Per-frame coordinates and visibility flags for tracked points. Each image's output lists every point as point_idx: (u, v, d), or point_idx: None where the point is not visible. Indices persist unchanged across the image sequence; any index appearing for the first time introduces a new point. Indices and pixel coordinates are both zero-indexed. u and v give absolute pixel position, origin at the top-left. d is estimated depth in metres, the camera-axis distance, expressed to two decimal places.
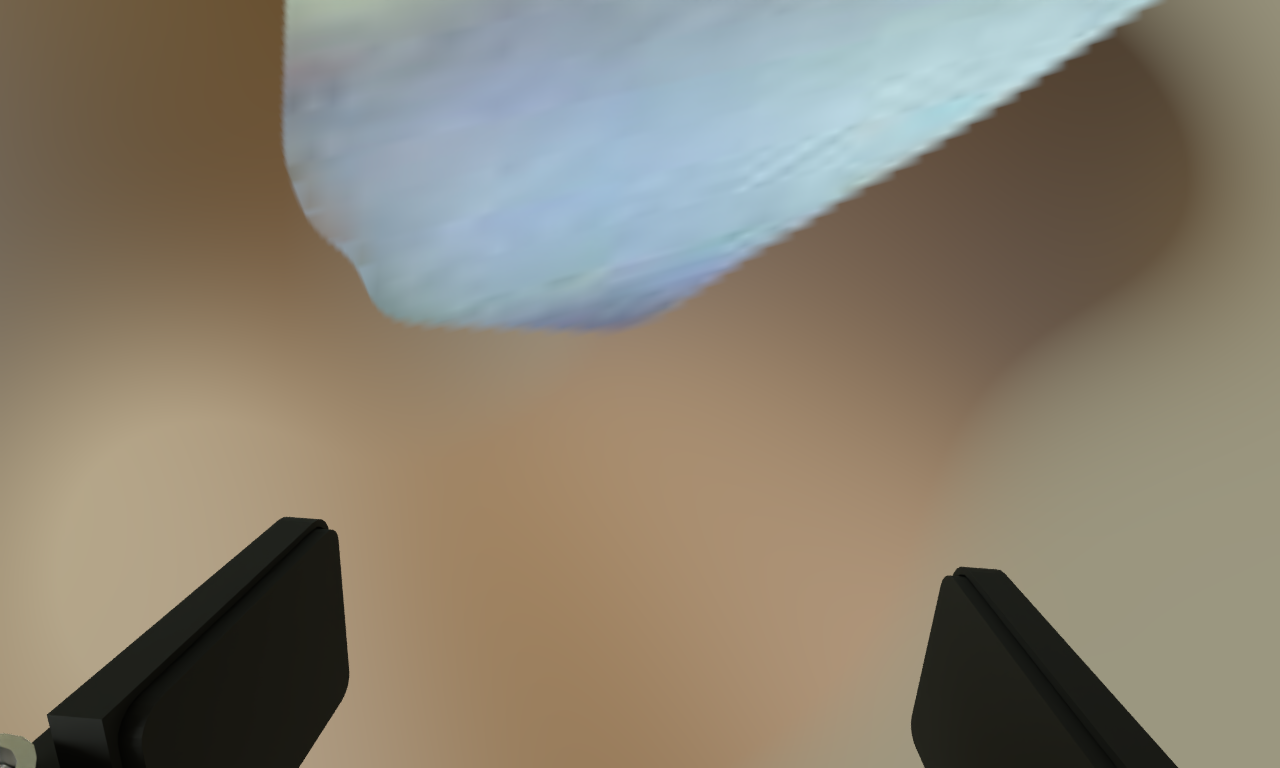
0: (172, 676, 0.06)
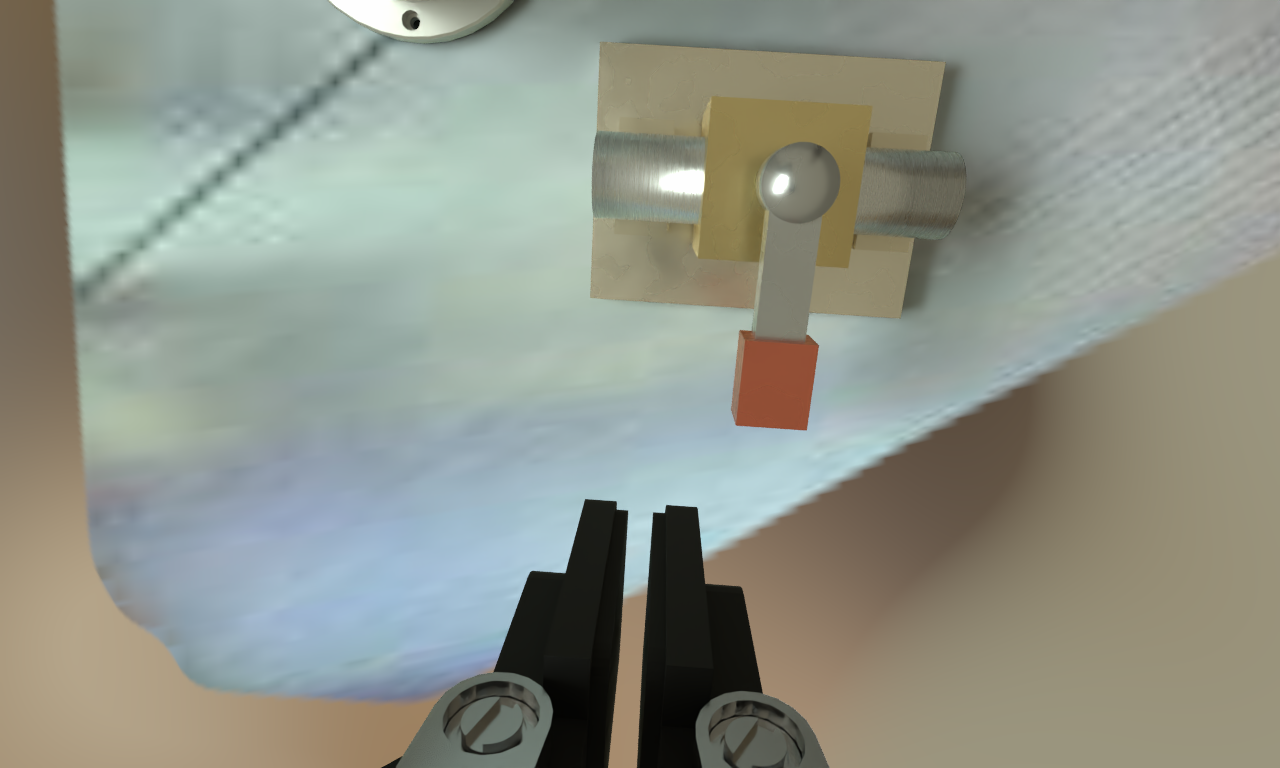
0: (603, 628, 0.08)
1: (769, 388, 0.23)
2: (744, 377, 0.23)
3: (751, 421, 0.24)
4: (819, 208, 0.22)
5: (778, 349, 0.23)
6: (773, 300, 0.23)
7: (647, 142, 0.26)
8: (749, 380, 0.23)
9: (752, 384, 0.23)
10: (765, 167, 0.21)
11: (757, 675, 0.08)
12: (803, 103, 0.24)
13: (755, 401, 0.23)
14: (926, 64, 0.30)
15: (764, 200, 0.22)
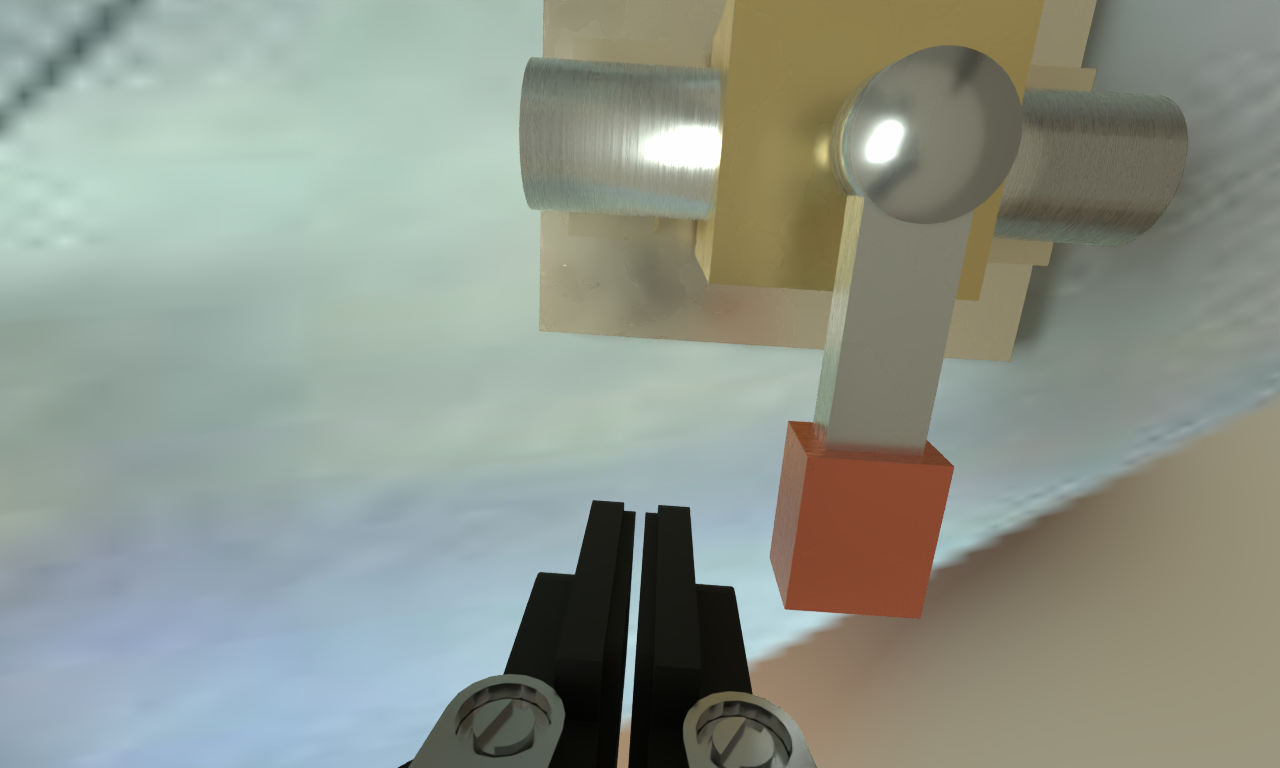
0: (614, 630, 0.08)
1: (852, 544, 0.12)
2: (804, 523, 0.12)
3: (814, 602, 0.12)
4: (972, 192, 0.10)
5: (873, 473, 0.12)
6: (864, 377, 0.11)
7: (619, 76, 0.15)
8: (813, 530, 0.12)
9: (819, 537, 0.12)
10: (861, 103, 0.10)
11: (747, 675, 0.08)
12: None
13: (823, 567, 0.12)
14: None
15: (856, 175, 0.10)
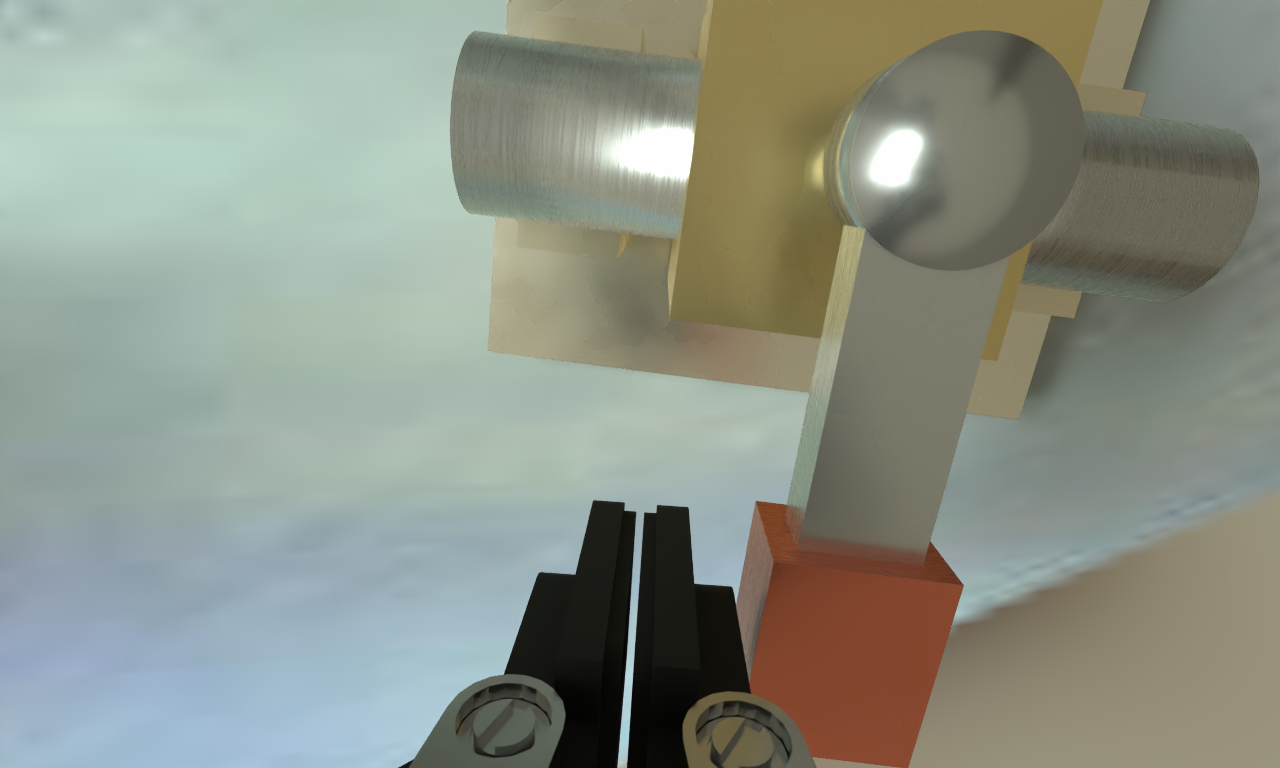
0: (614, 630, 0.08)
1: (826, 674, 0.09)
2: (765, 644, 0.09)
3: None
4: (1010, 231, 0.08)
5: (858, 587, 0.09)
6: (853, 462, 0.09)
7: (577, 59, 0.12)
8: (777, 653, 0.09)
9: (784, 662, 0.09)
10: (867, 103, 0.07)
11: (746, 675, 0.08)
12: None
13: (788, 699, 0.09)
14: None
15: (856, 199, 0.08)
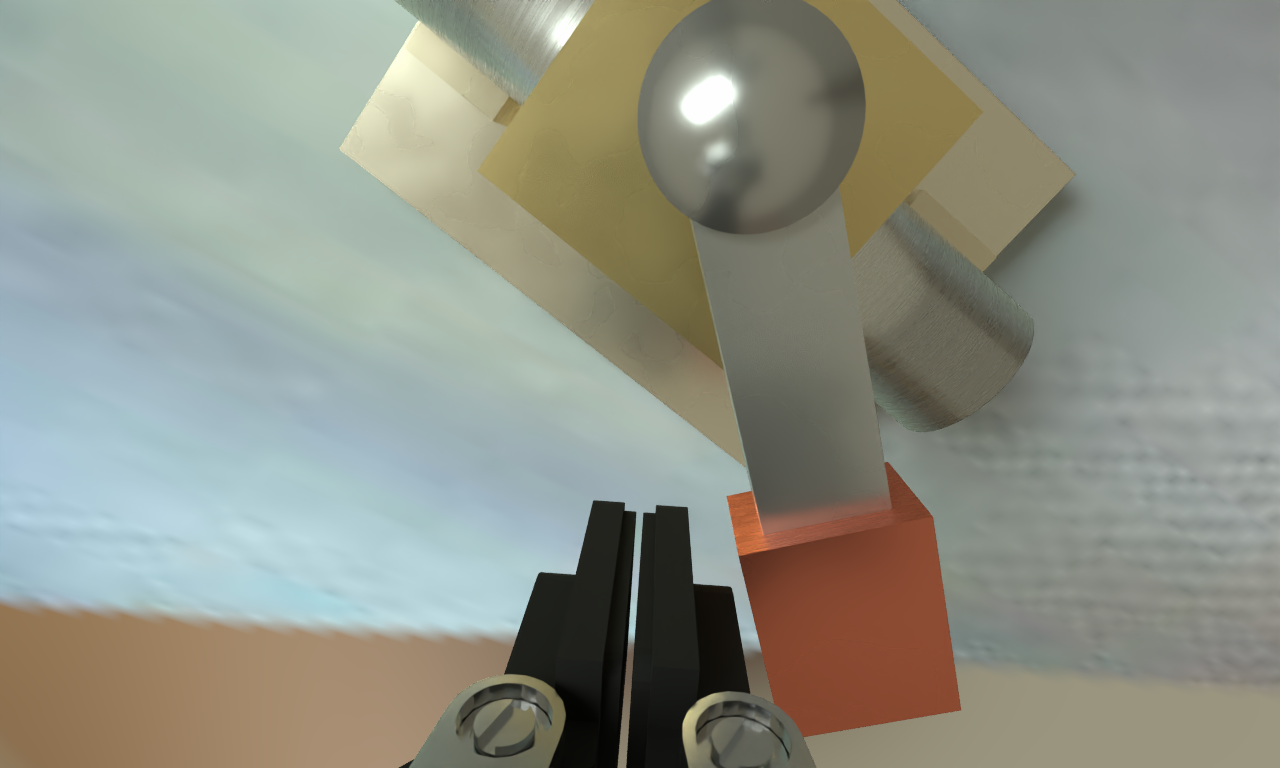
0: (615, 630, 0.08)
1: (837, 644, 0.09)
2: (766, 635, 0.09)
3: (817, 723, 0.10)
4: (825, 169, 0.08)
5: (830, 552, 0.09)
6: (779, 435, 0.09)
7: None
8: (781, 639, 0.09)
9: (792, 646, 0.09)
10: (639, 108, 0.08)
11: (745, 675, 0.08)
12: (866, 7, 0.10)
13: (812, 680, 0.09)
14: (1049, 157, 0.17)
15: (668, 197, 0.08)
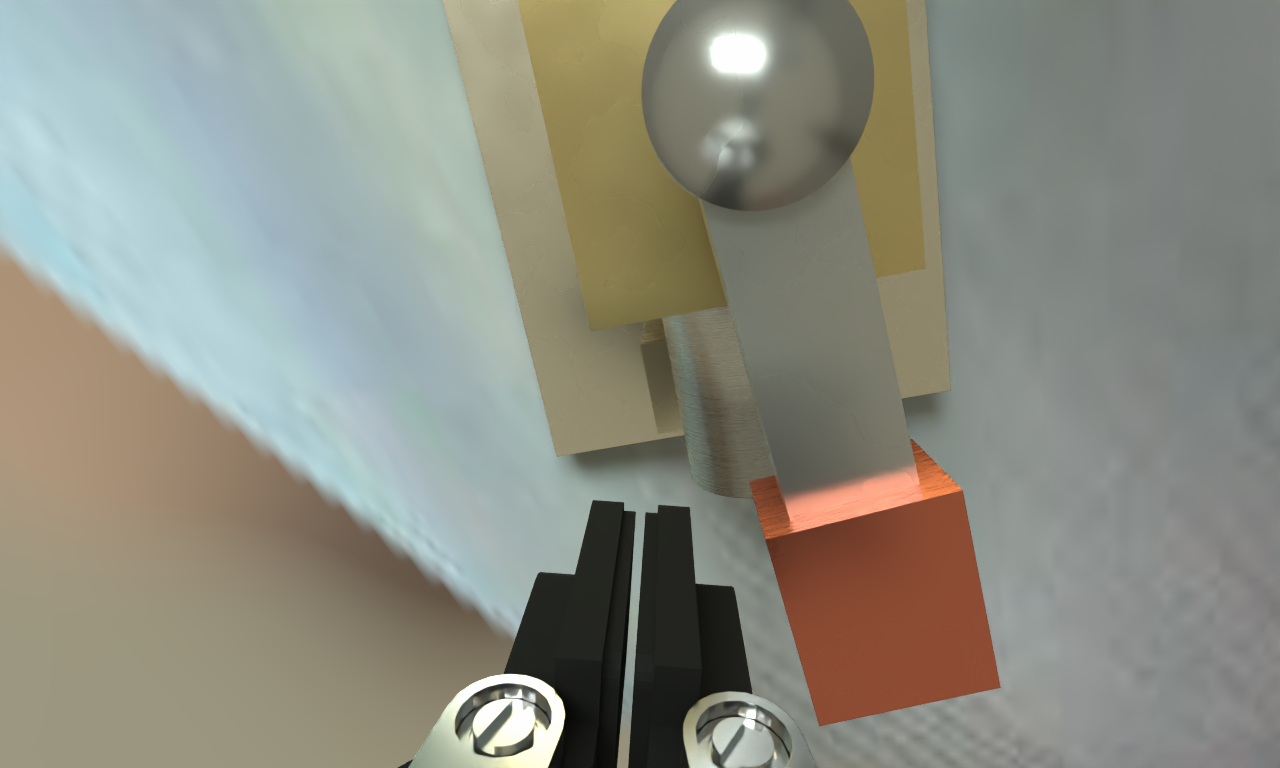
0: (613, 630, 0.08)
1: (870, 625, 0.09)
2: (797, 619, 0.09)
3: (854, 707, 0.09)
4: (835, 139, 0.07)
5: (858, 531, 0.09)
6: (800, 415, 0.09)
7: None
8: (813, 623, 0.09)
9: (824, 629, 0.09)
10: (643, 88, 0.07)
11: (747, 675, 0.08)
12: (908, 115, 0.11)
13: (846, 663, 0.09)
14: (943, 363, 0.19)
15: (676, 178, 0.08)
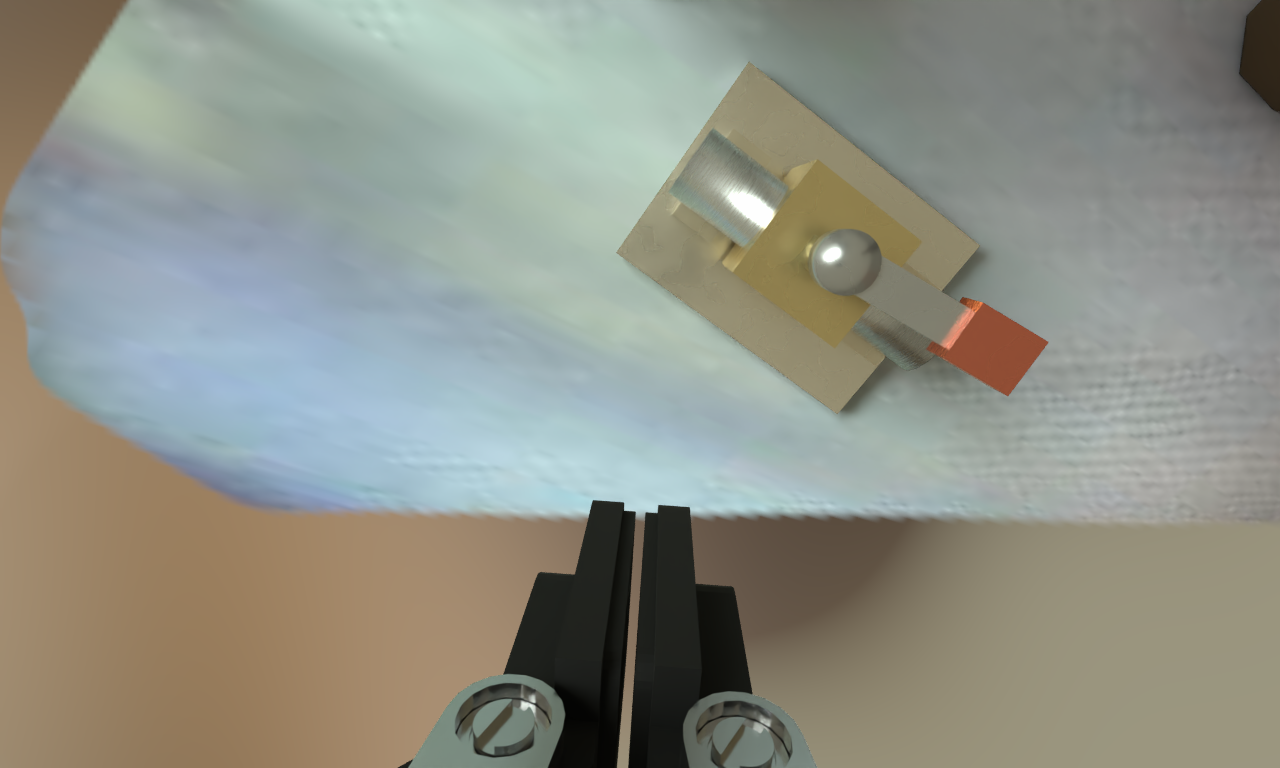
0: (614, 630, 0.08)
1: (994, 356, 0.26)
2: (972, 371, 0.26)
3: (1012, 382, 0.26)
4: (875, 256, 0.25)
5: (966, 335, 0.26)
6: (923, 320, 0.26)
7: (746, 162, 0.30)
8: (977, 369, 0.26)
9: (982, 368, 0.26)
10: (821, 283, 0.26)
11: (747, 675, 0.08)
12: (877, 208, 0.28)
13: (997, 372, 0.26)
14: (966, 238, 0.35)
15: (844, 295, 0.26)
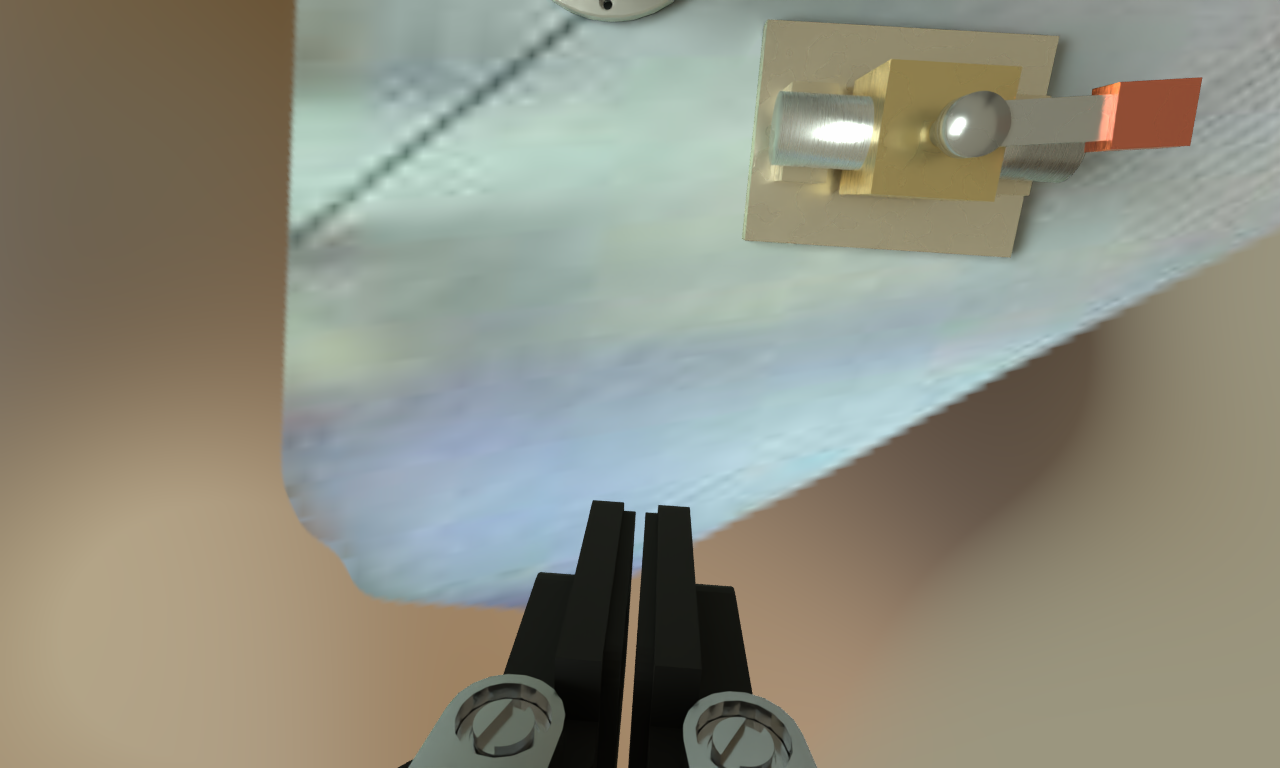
0: (614, 630, 0.08)
1: (1157, 120, 0.27)
2: (1143, 144, 0.27)
3: (1187, 131, 0.27)
4: (999, 104, 0.27)
5: (1120, 118, 0.27)
6: (1072, 129, 0.27)
7: (826, 99, 0.32)
8: (1147, 139, 0.27)
9: (1151, 136, 0.27)
10: (965, 155, 0.28)
11: (747, 675, 0.08)
12: (966, 65, 0.30)
13: (1168, 131, 0.27)
14: (1043, 38, 0.35)
15: (990, 151, 0.28)
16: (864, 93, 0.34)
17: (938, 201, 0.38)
